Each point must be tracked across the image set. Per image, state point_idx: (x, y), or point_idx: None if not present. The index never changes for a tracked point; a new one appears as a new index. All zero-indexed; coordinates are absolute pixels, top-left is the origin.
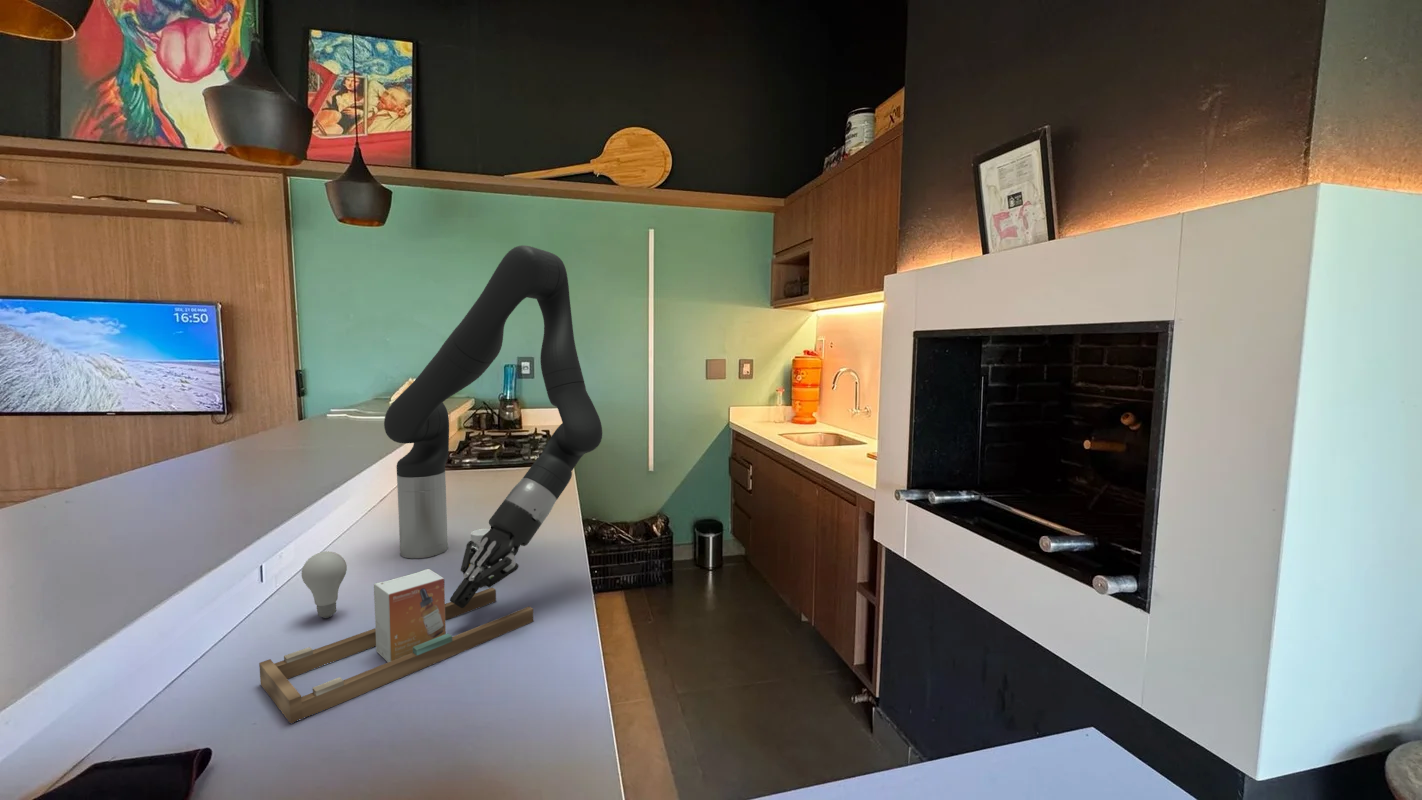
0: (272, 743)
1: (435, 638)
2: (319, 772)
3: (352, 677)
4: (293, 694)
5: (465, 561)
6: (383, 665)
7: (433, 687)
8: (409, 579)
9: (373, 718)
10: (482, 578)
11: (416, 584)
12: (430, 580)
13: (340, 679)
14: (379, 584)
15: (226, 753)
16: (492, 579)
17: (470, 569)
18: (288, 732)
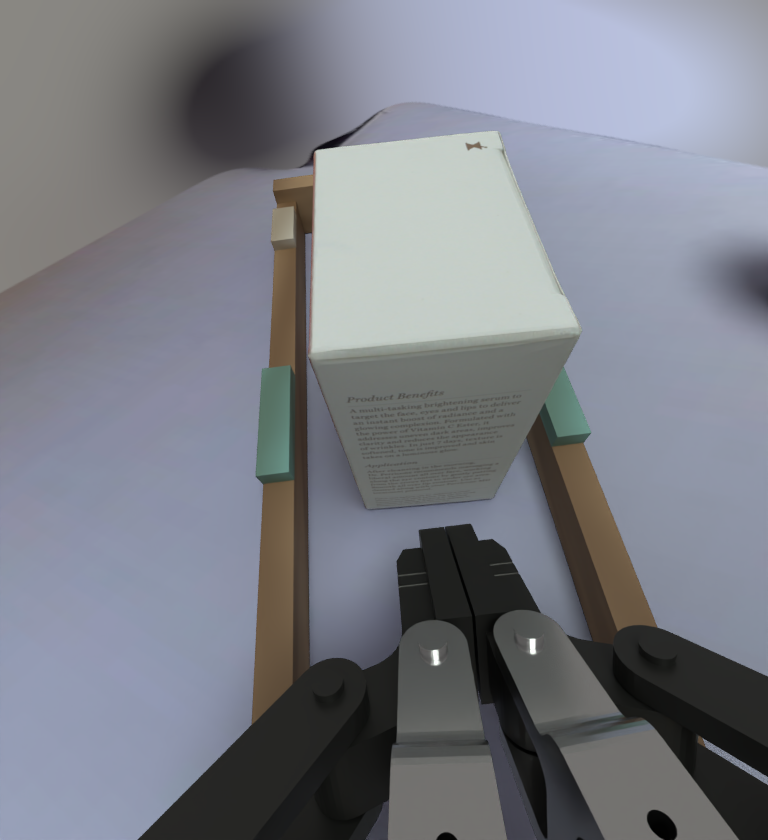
0: (257, 209)
1: (287, 428)
2: (127, 242)
3: (291, 263)
4: (290, 184)
5: (760, 709)
6: (288, 312)
7: (176, 413)
8: (435, 219)
9: (184, 307)
10: (286, 691)
11: (330, 230)
12: (331, 287)
13: (282, 238)
14: (470, 139)
15: (285, 177)
16: (324, 827)
17: (550, 683)
18: (268, 222)
